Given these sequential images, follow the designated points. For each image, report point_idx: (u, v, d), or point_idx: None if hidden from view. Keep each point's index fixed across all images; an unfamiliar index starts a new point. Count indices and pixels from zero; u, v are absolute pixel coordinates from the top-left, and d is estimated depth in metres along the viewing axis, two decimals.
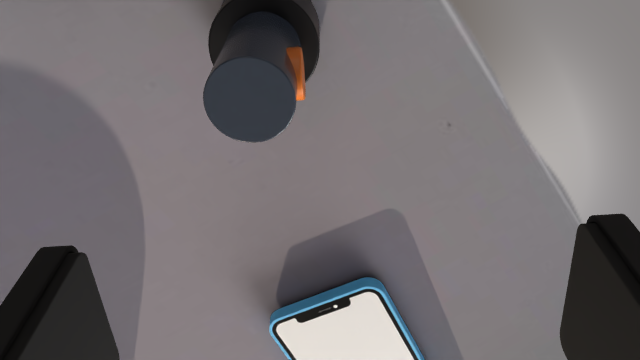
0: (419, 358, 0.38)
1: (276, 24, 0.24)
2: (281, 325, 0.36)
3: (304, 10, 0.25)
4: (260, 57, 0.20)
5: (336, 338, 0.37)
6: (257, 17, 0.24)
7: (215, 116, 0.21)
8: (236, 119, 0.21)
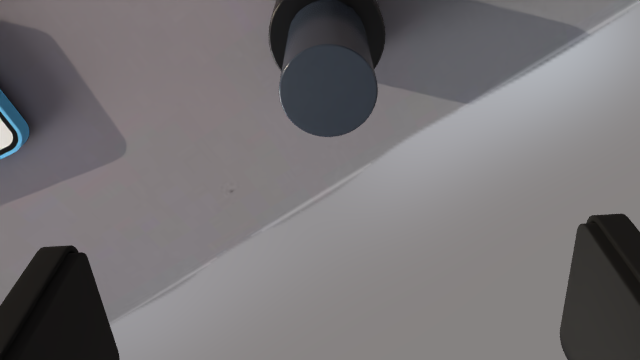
0: None
1: None
2: None
3: None
4: None
5: None
6: None
7: (310, 55, 0.19)
8: (307, 77, 0.19)
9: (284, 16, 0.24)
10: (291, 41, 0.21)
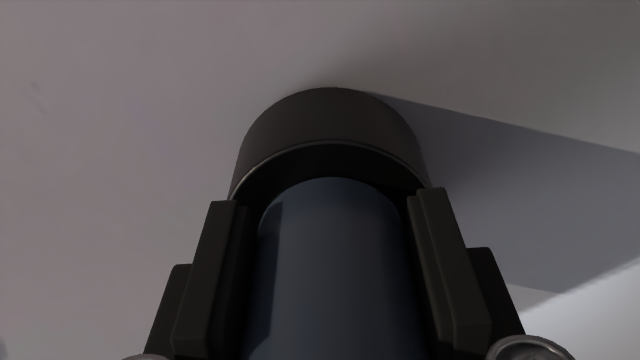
0: None
1: None
2: None
3: None
4: None
5: None
6: None
7: None
8: None
9: (250, 204, 0.13)
10: (254, 321, 0.09)
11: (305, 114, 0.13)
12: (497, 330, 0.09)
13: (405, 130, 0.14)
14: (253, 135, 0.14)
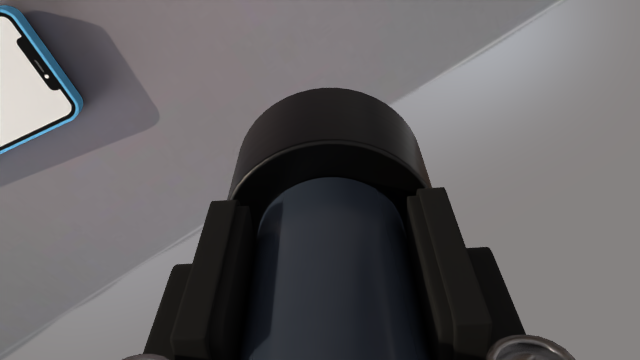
0: None
1: None
2: (7, 22, 0.34)
3: None
4: None
5: (3, 77, 0.36)
6: None
7: None
8: None
9: (250, 204, 0.13)
10: (254, 321, 0.09)
11: (305, 114, 0.13)
12: (497, 330, 0.09)
13: (405, 130, 0.14)
14: (253, 135, 0.14)
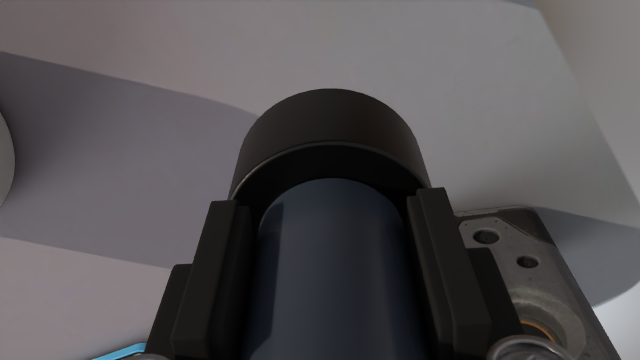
0: None
1: None
2: None
3: None
4: None
5: None
6: None
7: None
8: None
9: (250, 206, 0.13)
10: (255, 322, 0.09)
11: (305, 115, 0.13)
12: (497, 330, 0.09)
13: (405, 131, 0.14)
14: (253, 136, 0.14)
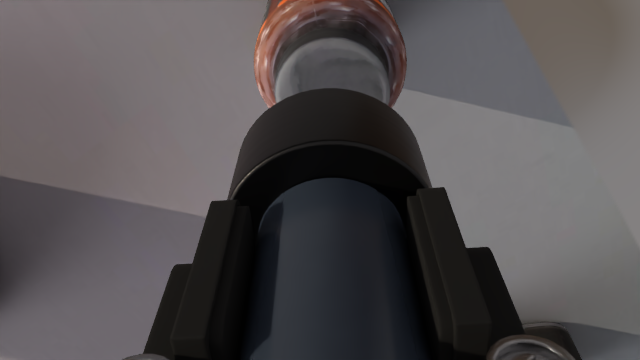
0: None
1: None
2: None
3: None
4: None
5: None
6: None
7: None
8: None
9: (250, 205, 0.13)
10: (255, 322, 0.09)
11: (305, 115, 0.13)
12: (497, 330, 0.09)
13: (405, 131, 0.14)
14: (253, 136, 0.14)
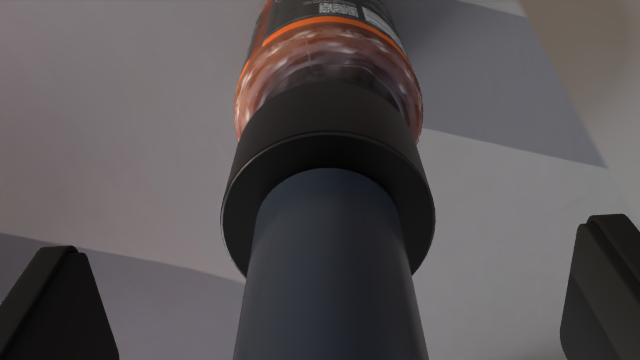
0: None
1: None
2: None
3: None
4: None
5: None
6: None
7: None
8: None
9: (248, 195, 0.13)
10: (252, 305, 0.10)
11: (302, 107, 0.13)
12: None
13: (400, 123, 0.14)
14: (251, 128, 0.14)
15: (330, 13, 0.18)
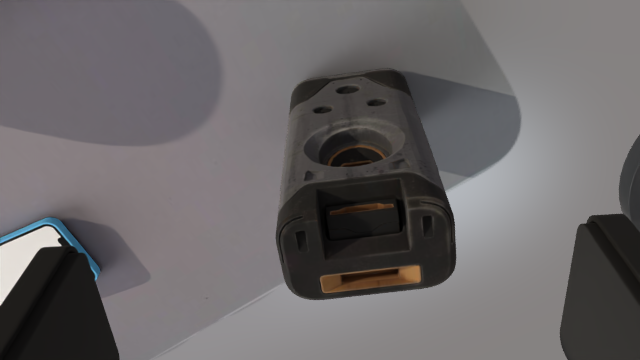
0: None
1: None
2: (52, 229, 0.53)
3: None
4: None
5: None
6: None
7: None
8: None
9: None
10: None
11: None
12: None
13: None
14: None
15: None
